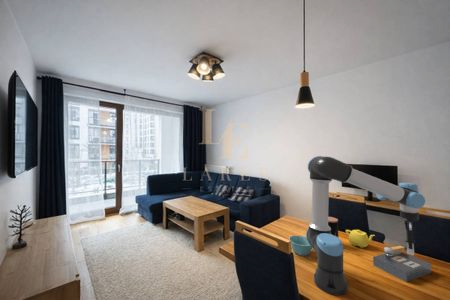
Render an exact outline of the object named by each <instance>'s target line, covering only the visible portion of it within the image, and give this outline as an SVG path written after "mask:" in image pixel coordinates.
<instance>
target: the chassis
mask: <svg viewBox="0 0 450 300" xmlns="http://www.w3.org/2000/svg"><path fill="white" fill-rule="evenodd" d="M372 258H373V259H372V261H373V262H372V263H373V266H374V267H376V268H378V269H379V270H382V271H383V272H386V273H388V274H389V275H392V276H394V277H396V278H398V279H400V280H402V281H404V282H406V283H407V282H410V281H414V280H416V279H418V278H421V277H423V276H426V275H429V274H432V263H430V262H427V261H426V260H422V259H420V258H418V257H415V256H414V255H410V254H407V253H406V252H403V251H399V252H394V254H387V253H385V252H384V253H382V254H378V255H375V256H373V257H372Z"/></svg>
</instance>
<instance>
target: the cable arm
mask: <svg viewBox="0 0 450 300" xmlns="http://www.w3.org/2000/svg"><path fill="white" fill-rule="evenodd" d="M383 251H384V254H385V253H387V254H394V252H399V251H400V252H403V251H405V252H407V244H403V243H402V244H399V245H398V246H397V245H396V246H391V247H388V246H385V247H384V248H383Z"/></svg>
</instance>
